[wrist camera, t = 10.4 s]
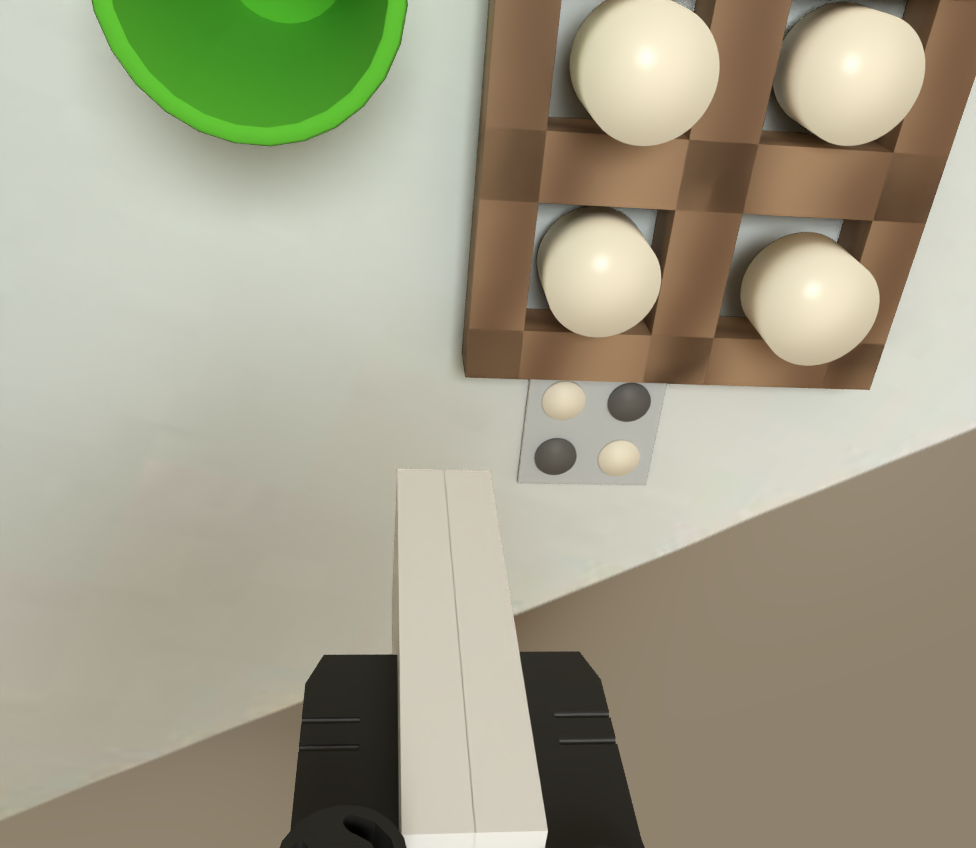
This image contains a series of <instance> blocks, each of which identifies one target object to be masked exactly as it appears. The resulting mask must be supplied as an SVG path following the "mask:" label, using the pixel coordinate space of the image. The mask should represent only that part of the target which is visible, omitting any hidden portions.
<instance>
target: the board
mask: <svg viewBox="0 0 976 848" xmlns="http://www.w3.org/2000/svg"><path fill="white" fill-rule="evenodd" d="M791 2H792V0H696V5H695V11H694V13H695V14H696V15H697V16H699V17H700V18H701V19H702V20H703V21H704V23H705V24H706V25H707V27H708V28H709V30H710V31H711V33H712V35H713V37H714V40H715V42H716V45H717V49H718V53H719V62H720V63H719V78H718V83H717V87H716V91H715V93H714V96H713V98H712V101H711V103H710V104H709V106H708V108H707V110H706V111H705V113H704V114H703V115H702V117H701V118H700V119H699V120H698V121H697V122H696V123H695V124H694V125H693V126H692V127H691V128H690V129H689V130H688V131H686V132H685V133H683V134H682V135H680V136H679V137H677V138H675V139H673V140H671V141H668V142H666V143H662V144H658V145H652V146H635V145H630V144H626V143H623V142H621V141H618V140H616V139H614V138H613V137H611V136H610V135H608V134H607V133H606V132H605V131H603V130H602V129H601V127H600V126H599V125H598V124H597V123H596V122H595V120H593V119H578V118H563V117H548V114H549V105H550V96H551V88H552V79H553V70H554V61H555V53H556V44H557V35H558V26H559V17H560V9H561V0H489V8H488V21H487V34H486V47H485V60H484V73H483V86H482V99H481V112H480V124H479V137H478V150H477V163H476V176H475V189H474V202H473V215H472V228H471V241H470V254H469V267H468V280H467V293H466V306H465V319H464V332H463V345H462V357H463V364H464V371H465V377H470V378H503V379H535V380H567V381H600V382H632V383H665V384H697V385H729V386H762V387H794V388H826V389H859V390H870V387H871V384H872V381H873V378H874V375H875V372H876V369H877V366H878V363H879V361H880V358H881V355H882V352H883V349H884V346H885V343H886V340H887V337H888V334H889V331H890V328H891V325H892V322H893V319H894V316H895V313H896V310H897V307H898V304H899V301H900V298H901V295H902V292H903V289H904V286H905V283H906V281H907V278H908V275H909V272H910V269H911V266H912V263H913V260H914V257H915V254H916V251H917V248H918V245H919V242H920V239H921V236H922V233H923V230H924V227H925V224H926V221H927V218H928V215H929V212H930V209H931V206H932V203H933V201H934V198H935V195H936V192H937V189H938V186H939V183H940V180H941V177H942V174H943V171H944V168H945V165H946V162H947V159H948V156H949V153H950V150H951V147H952V144H953V141H954V138H955V135H956V132H957V129H958V126H959V123H960V120H961V118H962V115H963V112H964V109H965V106H966V103H967V100H968V97H969V94H970V91H971V88H972V85H973V82H974V79H975V76H976V0H908V2H907V5H906V9H905V12H904V15H903V19H902V20H904V21H905V22H906V23H908V24H909V25H910V26H911V27H912V28H913V29H914V30H915V32H916V33H917V35H918V36H919V38H920V41H921V43H922V46H923V49H924V54H925V74H924V80H923V84H922V87H921V90H920V93H919V95H918V97H917V99H916V101H915V103H914V105H913V106H912V108H911V109H910V111H909V112H908V113H907V115H906V116H905V117H904V118H903V119H902V120H901V122H900V123H899V124H898V125H896V126H895V127H894V128H893V129H892V130H891V131H889V132H888V133H886V134H885V135H883V136H881V137H879V138H878V139H876V140H873V141H871V142H868V143H865V144H861V145H855V146H841V145H836V144H832V143H829V142H827V141H825V140H823V139H821V138H820V137H818V136H817V135H815V134H809V133H793V132H778V131H762V127H763V123H764V119H765V114H766V110H767V106H768V101H769V97H770V93H771V88H772V84H773V80H774V76H775V71H776V67H777V63H778V58H779V54H780V50H781V45H782V41H783V37H784V32H785V28H786V24H787V19H788V15H789V11H790V6H791ZM538 203H553V204H571V205H590V206H608V207H627V208H646V209H658V213H657V219H656V224H655V230H654V235H653V241H652V246H651V249H652V250H653V252H654V253H655V255H656V257H657V259H658V262H659V265H660V270H661V286H660V291H659V294H658V297H657V299H656V302H655V303H654V305H653V307H652V309H651V310H650V311H649V313H648V314H647V315H646V316H645V317H644V318H643V319H642V320H641V321H640V322H639V323H638V324H636V325H635V326H633V327H632V328H630V329H628V330H626V331H625V332H622V333H620V334H617V335H613V336H608V337H587V336H583V335H580V334H577V333H574V332H573V331H571V330H569V329H567V328H566V327H565V326H563V325H562V324H561V323H560V322H559V321H558V320H557V318H556V317H555V316H554V314H553V312H552V311H551V309H528V308H526V307H527V298H528V289H529V281H530V272H531V263H532V254H533V246H534V237H535V228H536V219H537V210H538ZM742 214H757V215H776V216H794V217H813V218H831V219H844V222H843V226H842V229H841V233H840V236H839V240H838V244H839V245H840V246H841V247H842V248H843V249H844V250H846V251H847V252H848V253H849V254H850V255H851V256H852V257H854V258H855V259H856V260H857V261H858V262H859V263H860V264H862V265H863V266H864V267H865V268H866V269H867V270H868V271H869V272H870V273H871V274H872V276H873V277H874V279H875V281H876V283H877V286H878V290H879V299H880V302H879V309H878V313H877V317H876V319H875V322H874V324H873V326H872V328H871V329H870V331H869V332H868V334H867V335H866V336H865V338H864V339H863V340H862V341H861V342H860V343H859V344H858V345H857V346H856V347H855V348H854V349H852V350H851V351H850V352H848V353H847V354H845V355H843V356H842V357H840V358H838V359H836V360H833V361H831V362H828V363H824V364H820V365H812V366H804V365H797V364H792V363H790V362H787V361H785V360H783V359H782V358H780V357H779V356H777V355H776V354H775V353H774V352H773V351H772V350H771V348H770V347H769V346H768V344H767V343H766V342H765V340H764V339H763V338H762V337H761V335H760V334H759V333H758V331H757V330H756V329H755V327H754V326H753V325H752V323H751V322H750V321H749V319H748V318H747V317H728V316H719V313H720V309H721V305H722V301H723V296H724V292H725V288H726V283H727V279H728V275H729V270H730V266H731V262H732V257H733V253H734V249H735V244H736V240H737V236H738V231H739V227H740V223H741V218H742Z"/></svg>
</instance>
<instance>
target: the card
mask: <svg viewBox="0 0 976 848" xmlns="http://www.w3.org/2000/svg"><path fill="white" fill-rule="evenodd" d="M666 386H667V384H665V383H632V382H600V381H567V380H535V379H529V388H528V396H527V404H526V412H525V421H524V429H523V437H522V445H521V454H520V462H519V470H518V478H517V481H518V483H535V484H592V485H646V482H647V477H648V472H649V467H650V462H651V458H652V453H653V448H654V443H655V438H656V434H657V429H658V424H659V419H660V414H661V410H662V405H663V400H664V395H665V390H666Z"/></svg>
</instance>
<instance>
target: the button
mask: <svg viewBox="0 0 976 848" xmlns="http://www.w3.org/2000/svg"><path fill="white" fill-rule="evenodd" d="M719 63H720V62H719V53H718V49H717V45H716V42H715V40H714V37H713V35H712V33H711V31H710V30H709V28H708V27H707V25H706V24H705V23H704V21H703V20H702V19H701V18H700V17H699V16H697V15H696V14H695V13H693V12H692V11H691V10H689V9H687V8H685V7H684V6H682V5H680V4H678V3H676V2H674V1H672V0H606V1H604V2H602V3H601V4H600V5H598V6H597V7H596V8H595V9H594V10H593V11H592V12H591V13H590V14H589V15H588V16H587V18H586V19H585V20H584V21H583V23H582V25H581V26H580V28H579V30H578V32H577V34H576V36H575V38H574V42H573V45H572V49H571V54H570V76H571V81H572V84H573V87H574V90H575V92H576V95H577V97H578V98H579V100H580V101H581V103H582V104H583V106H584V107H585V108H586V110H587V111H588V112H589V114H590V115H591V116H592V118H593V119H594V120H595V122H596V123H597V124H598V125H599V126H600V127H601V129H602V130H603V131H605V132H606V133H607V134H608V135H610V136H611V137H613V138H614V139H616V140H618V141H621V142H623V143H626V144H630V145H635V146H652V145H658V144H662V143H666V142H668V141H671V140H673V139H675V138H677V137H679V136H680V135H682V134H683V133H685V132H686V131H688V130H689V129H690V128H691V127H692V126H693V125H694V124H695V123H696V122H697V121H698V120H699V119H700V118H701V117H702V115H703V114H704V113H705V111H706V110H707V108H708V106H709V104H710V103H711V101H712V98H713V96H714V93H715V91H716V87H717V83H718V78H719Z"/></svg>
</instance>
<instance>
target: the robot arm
mask: <svg viewBox="0 0 976 848" xmlns="http://www.w3.org/2000/svg"><path fill="white" fill-rule="evenodd" d="M280 848H644V845H643V842H642V840H641V836H640V832H639V828H638V824H637V820H636V816H635V812H634V808H633V804H632V801H631V797H630V793H629V789H628V785H627V781H626V777H625V773H624V769H623V765H622V761H621V757H620V753H619V750H618V745H617V744H616V742H615V734H614V730H613V726H612V722H611V718H609V710H608V706H607V703H606V698H605V694H604V690H603V686H602V683H601V679H600V678H599V677H598V675H597V674H596V673H595V671H594V670H593V669H592V667H591V666H590V665H589V664H588V662H587V661H586V660H585V658H584V657H583V656H582V655H581V653H580V652H519V648H518V642H517V635H516V629H515V623H514V617H513V611H512V604H511V598H510V592H509V586H508V579H507V573H506V567H505V561H504V555H503V548H502V542H501V536H500V530H499V523H498V517H497V511H496V505H495V499H494V492H493V486H492V480H491V474H490V470H442V469H397V490H396V515H395V540H394V565H393V590H392V655H323V657H322V659H321V660H320V662H319V663H318V665H317V667H316V668H315V670H314V671H313V673H312V674H311V676H310V678H309V679H308V681H307V682H306V684H305V693H304V703H303V712H302V724H301V733H300V742H299V752H298V762H297V772H296V782H295V792H294V802H293V812H292V821H291V831H290V832H289V834H288V835H287V836H286V837H285V838H284V840H283V841H282V843H281V846H280Z"/></svg>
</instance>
